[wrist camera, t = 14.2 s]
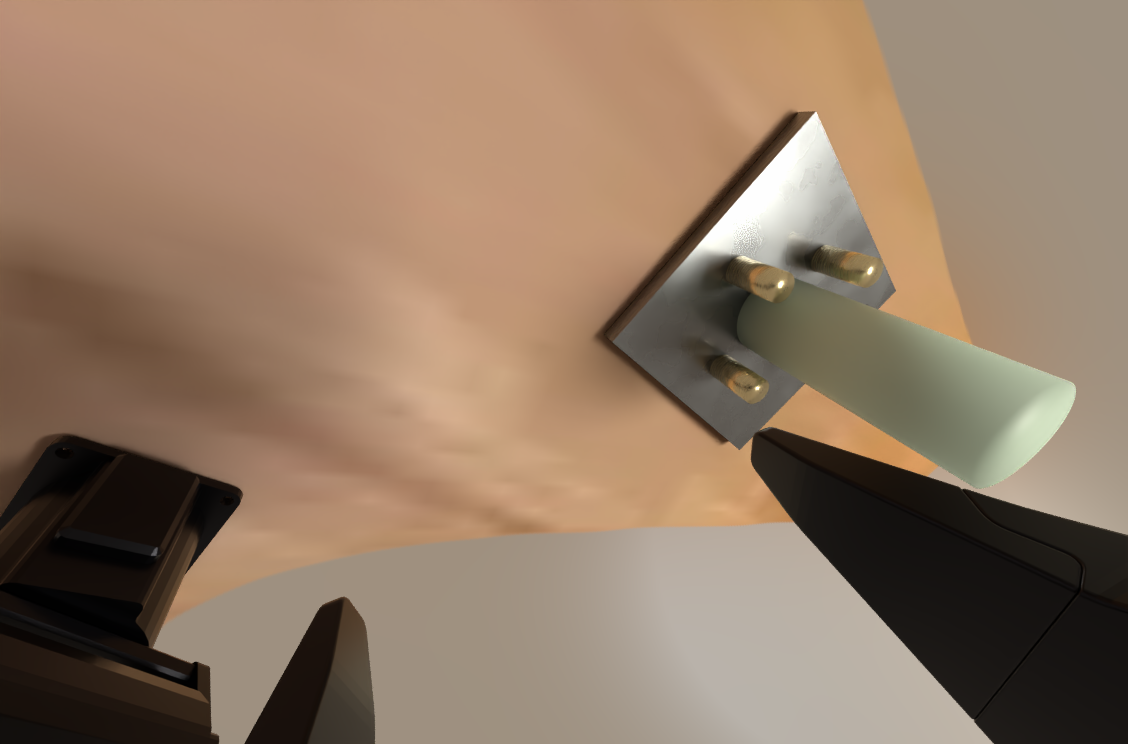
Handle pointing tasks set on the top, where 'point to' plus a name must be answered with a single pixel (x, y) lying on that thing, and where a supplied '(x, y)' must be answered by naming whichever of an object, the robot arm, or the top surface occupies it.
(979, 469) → the mint green tapered post
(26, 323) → the top surface
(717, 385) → the chassis plate
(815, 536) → the robot arm
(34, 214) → the top surface
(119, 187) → the top surface
